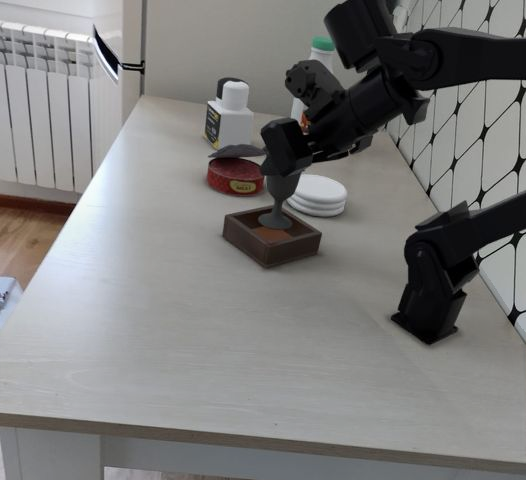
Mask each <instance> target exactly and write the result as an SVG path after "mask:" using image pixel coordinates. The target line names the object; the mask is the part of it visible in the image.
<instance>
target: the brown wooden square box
mask: <svg viewBox="0 0 526 480" xmlns="http://www.w3.org/2000/svg"><path fill="white" fill-rule="evenodd" d="M273 207H274V204H270V205H266V206H261V207H255V208H252V209H247V210H241V211H238V212H237V211H236V212H232V213H227V214H224V218H223V228H222V234H221V237H222V238H223V239H224V240H226V241H227V242H229V243H230V244H231V245H232V246H234V247H235V248H236V249H238V250H239V251H240V252H242V253H243V254H244V255H246V256H247V257H249V258H250V259H251V260H252V261H253V262H255V263H256V264H258V265H259V266H260V267H262V268H263V269H265V270H267V269H272V268H274V267H279V266H283V265H285V264H288V263H292V262H296V261H299V260H304V259H306V258H309V257H313V256H316V255H318V253H319V248H320V246H321V242H322V236H323V232H322V231H320V230H319V229H317V228H316V227H314V226H312V225H311V224H309V223H307V222H306V221H304V220H303V219H301V218H300V217H298V216H297V215H295V214H294V213H292V212H290V211H289V210H287V209H286V208H285V207H283V206H282V215H283V216H285V217H287V218H288V219H290V220H291V221H292V226H291V227H290V228H289V229H285V230H274V229H270V228H267V227H265V226H263V225H262V224H260V223H259V221H258V218H259V217H260V216H261V215H263V214H268V213H271V212H272V210H273Z"/></svg>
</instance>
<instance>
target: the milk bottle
mask: <svg viewBox="0 0 526 480" xmlns="http://www.w3.org/2000/svg"><path fill="white" fill-rule="evenodd" d="M310 50H311V53H310V56H309V58H308V60H312V59H315V60H318V61H320V62H321V63H322V64H323V65H324V66H325V67H326V68H327V69H328V70H329V71H330V72H331V73H332V74H333V75H334V72H333V55H334V54H335V51H336V48H335V46H334V44H333V42H332V39H331V38H330V37H324V36H314V37H312V42H311V48H310ZM307 109H308V107H307V106H305V105H304V104H303V103H302V101H301V100H300V99H299V98H295V97H294V96H293V102H292V108H291V113H290V118H293V119H294V118H295V119H296V120H297V121H298V123H299V125H300V127H301V129H302V131H303V134H304V135H306V134H309V133H308V132H307V130H306V126H307V125H310V124H311V123H310V121H307V120H306V118H305V115H304V113H303V112H304V111H305V110H307Z"/></svg>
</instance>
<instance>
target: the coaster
mask: <svg viewBox="0 0 526 480" xmlns="http://www.w3.org/2000/svg"><path fill="white" fill-rule="evenodd" d="M347 197H348V190H347V188H346V187H345V186H344V185H343V184H342V183H340V182H339V181H337V180H335V179H332V178H329V177H327V176H323V175H317V174H301V176H300V179H299V183H298V185H297V188H296V190H295V193H294V194H293V195H292V196H291V197H290V198H288V199H286V201H287V203H288V204H289V206H291V207H292V208H293V209H294V210H296V211H298V212H300V213H303V214H306V215H310V216H312V217H313V216H314V217H320V218H321V217H323V218H328V217H329V218H330V217H335V216H338V215H340V214H342V212H343V211H344V210H345V204H346V201H347Z"/></svg>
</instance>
